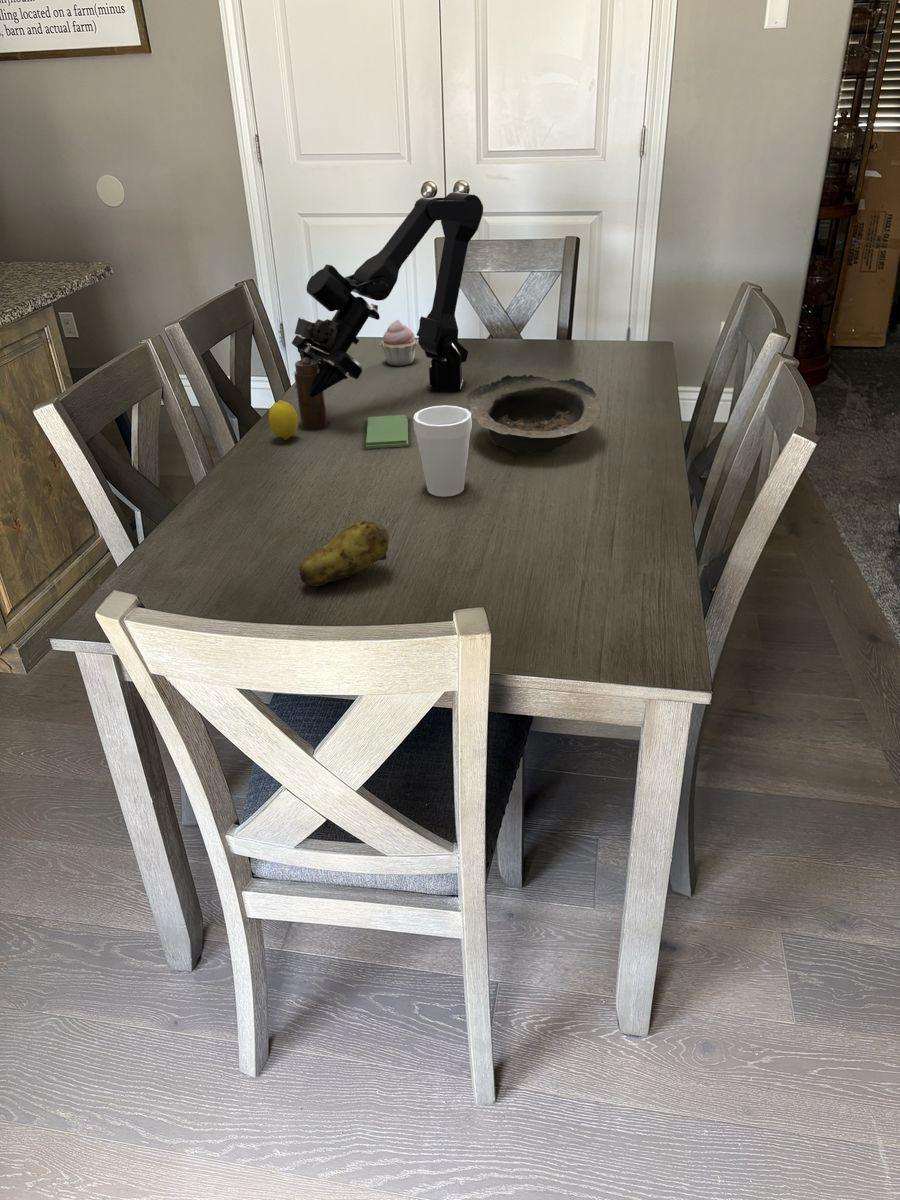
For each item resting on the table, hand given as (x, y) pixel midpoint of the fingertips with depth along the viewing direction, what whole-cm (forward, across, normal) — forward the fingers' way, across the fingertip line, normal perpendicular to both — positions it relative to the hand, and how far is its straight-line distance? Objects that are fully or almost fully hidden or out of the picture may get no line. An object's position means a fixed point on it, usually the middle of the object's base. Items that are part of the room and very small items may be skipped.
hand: (303, 392), depth 171 cm
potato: (+22, +56, -12) cm, 62 cm away
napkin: (-2, +14, +12) cm, 19 cm away
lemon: (+10, +3, 0) cm, 10 cm away
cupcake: (-21, -23, +32) cm, 44 cm away
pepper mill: (+4, 0, +6) cm, 7 cm away
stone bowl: (-15, +36, +26) cm, 47 cm away
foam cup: (+3, +42, +8) cm, 43 cm away
